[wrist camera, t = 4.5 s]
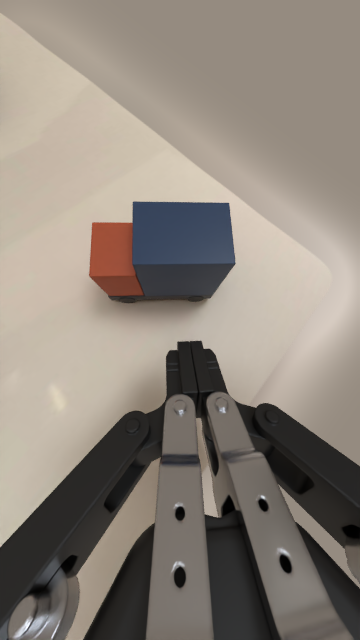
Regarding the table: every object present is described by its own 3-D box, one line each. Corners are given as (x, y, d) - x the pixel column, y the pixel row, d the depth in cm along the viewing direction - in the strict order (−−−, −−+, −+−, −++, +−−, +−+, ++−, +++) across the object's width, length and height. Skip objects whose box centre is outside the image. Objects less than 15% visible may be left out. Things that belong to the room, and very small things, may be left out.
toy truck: (205, 260, 22) (229, 201, 14) (208, 301, 21) (236, 265, 13) (115, 261, 22) (78, 199, 13) (113, 303, 21) (73, 266, 12)
